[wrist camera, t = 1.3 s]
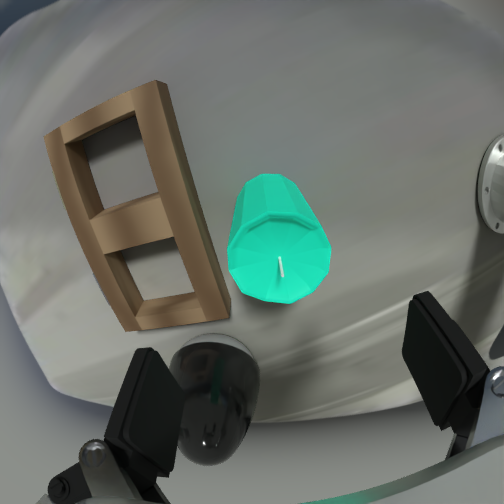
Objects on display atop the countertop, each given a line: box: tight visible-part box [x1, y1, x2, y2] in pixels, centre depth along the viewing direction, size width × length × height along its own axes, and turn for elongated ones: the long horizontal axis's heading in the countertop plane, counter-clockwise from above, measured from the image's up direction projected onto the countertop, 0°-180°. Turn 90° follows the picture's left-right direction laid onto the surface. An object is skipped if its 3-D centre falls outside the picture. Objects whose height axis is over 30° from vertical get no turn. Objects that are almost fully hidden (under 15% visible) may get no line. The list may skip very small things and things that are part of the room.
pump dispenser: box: [169, 334, 260, 466], centre depth 26 cm, size 10×10×15 cm
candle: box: [227, 174, 331, 304], centre depth 20 cm, size 6×6×12 cm
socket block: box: [44, 80, 231, 332], centre depth 24 cm, size 12×22×3 cm, turn 13°
